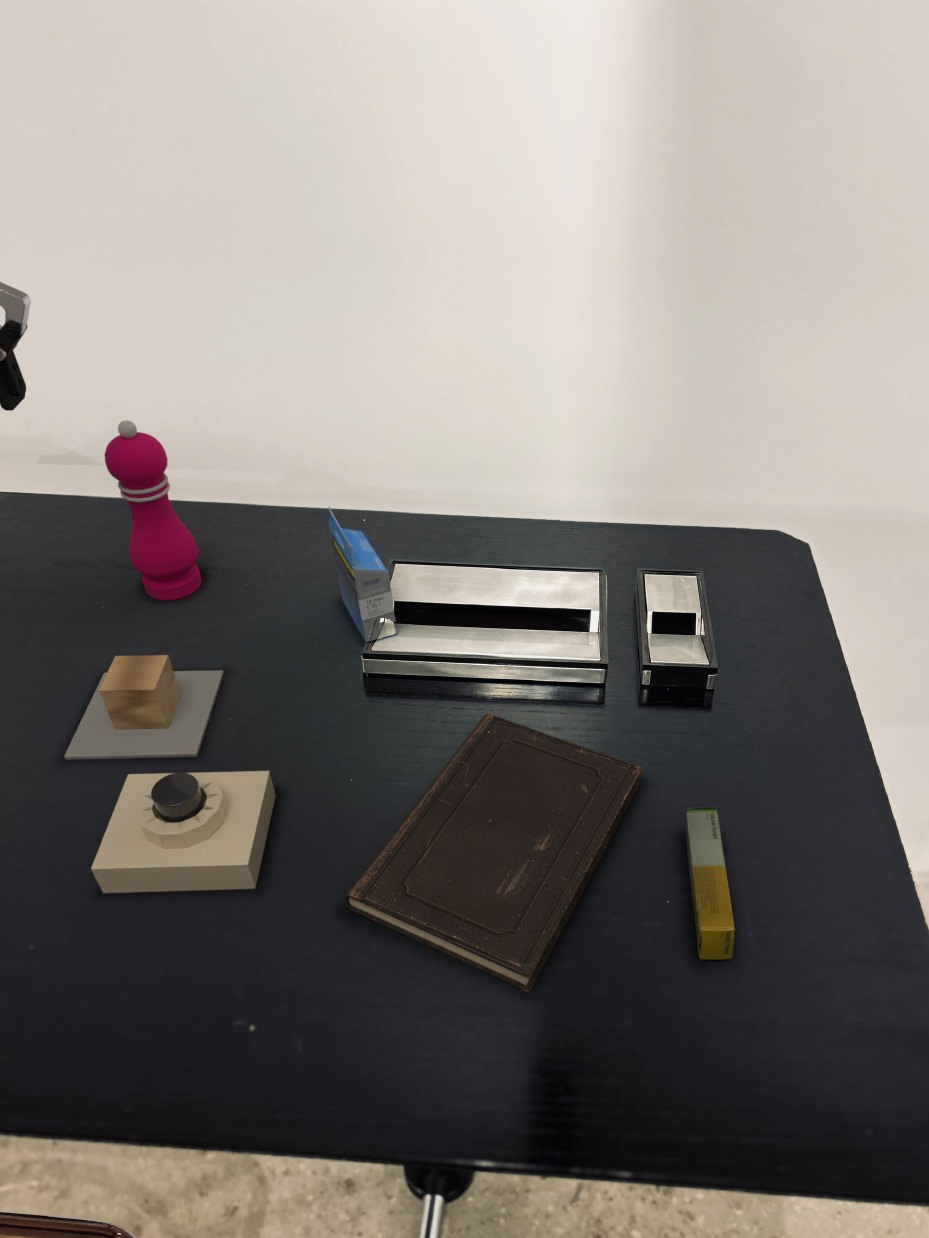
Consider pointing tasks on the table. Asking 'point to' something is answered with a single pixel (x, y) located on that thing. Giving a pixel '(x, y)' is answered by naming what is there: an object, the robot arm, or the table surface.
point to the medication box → (709, 884)
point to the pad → (175, 741)
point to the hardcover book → (498, 849)
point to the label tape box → (361, 577)
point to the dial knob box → (187, 837)
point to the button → (177, 797)
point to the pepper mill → (152, 516)
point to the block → (140, 692)
